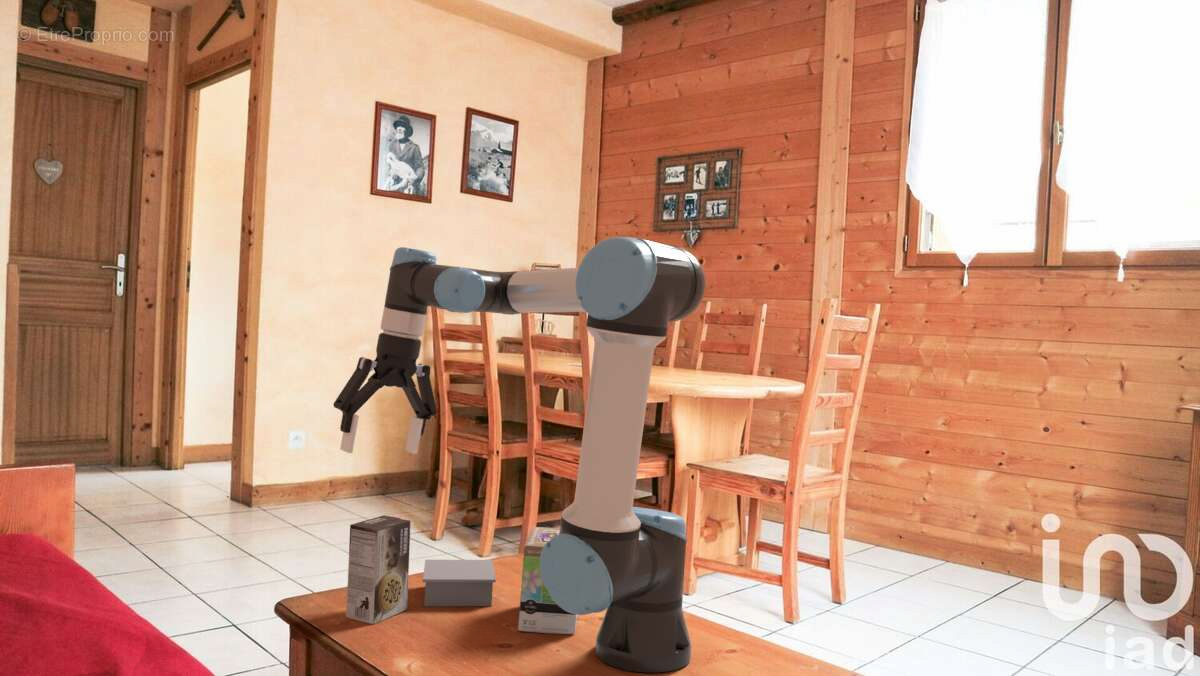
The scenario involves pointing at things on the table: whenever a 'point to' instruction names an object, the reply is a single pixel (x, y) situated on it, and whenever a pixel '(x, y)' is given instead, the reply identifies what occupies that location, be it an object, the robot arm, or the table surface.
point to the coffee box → (378, 569)
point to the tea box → (540, 591)
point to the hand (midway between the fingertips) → (379, 452)
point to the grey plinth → (458, 582)
